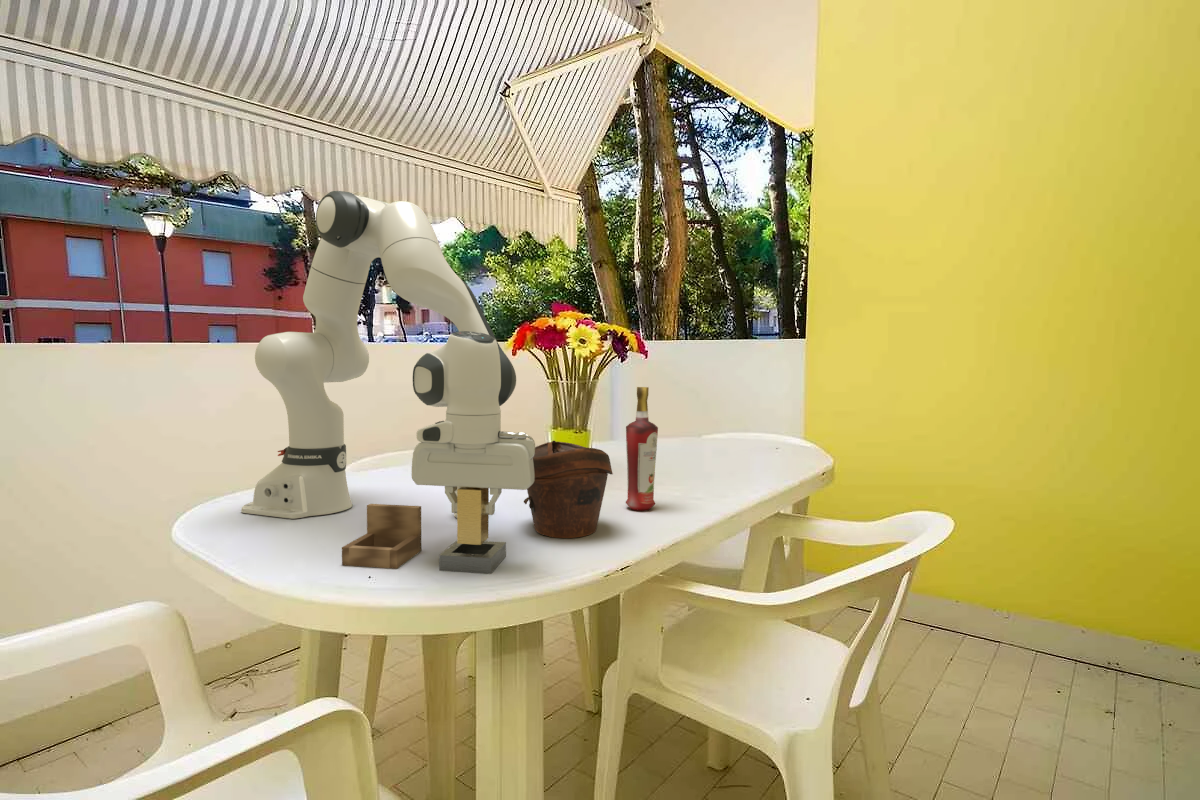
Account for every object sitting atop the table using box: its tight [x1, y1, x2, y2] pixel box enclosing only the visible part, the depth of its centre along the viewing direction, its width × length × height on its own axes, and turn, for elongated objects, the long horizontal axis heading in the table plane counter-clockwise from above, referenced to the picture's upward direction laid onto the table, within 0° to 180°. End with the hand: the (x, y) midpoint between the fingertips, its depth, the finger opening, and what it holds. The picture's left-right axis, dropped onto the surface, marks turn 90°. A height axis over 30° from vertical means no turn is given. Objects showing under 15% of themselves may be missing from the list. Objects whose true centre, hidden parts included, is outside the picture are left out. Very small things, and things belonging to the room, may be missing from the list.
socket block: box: [438, 540, 507, 575], centre depth 103 cm, size 9×9×2 cm
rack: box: [341, 503, 422, 570], centre depth 105 cm, size 10×10×8 cm
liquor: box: [625, 386, 659, 512], centre depth 142 cm, size 7×7×28 cm
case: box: [523, 440, 614, 539], centre depth 124 cm, size 18×20×18 cm
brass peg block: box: [456, 487, 490, 545], centre depth 103 cm, size 4×4×13 cm
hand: (473, 513), depth 103 cm, fingers closed on brass peg block, 4 cm apart
